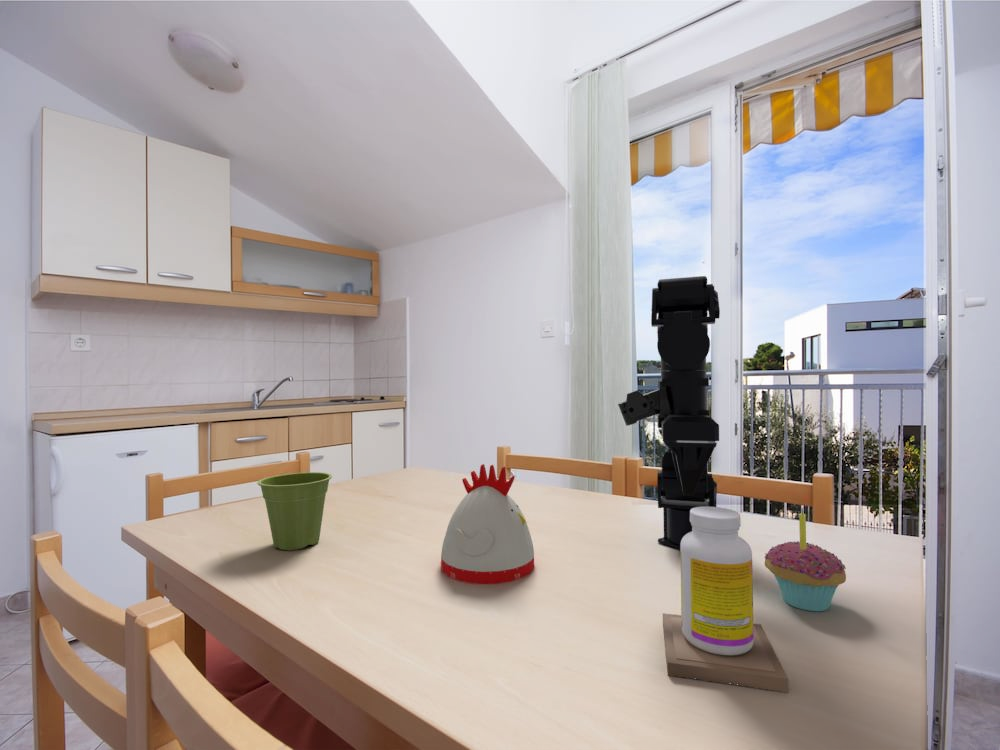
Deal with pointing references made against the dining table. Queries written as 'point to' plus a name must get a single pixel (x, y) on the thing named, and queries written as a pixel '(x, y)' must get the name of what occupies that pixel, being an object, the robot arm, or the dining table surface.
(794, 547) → the cupcake
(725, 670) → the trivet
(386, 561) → the dining table surface
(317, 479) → the plant pot
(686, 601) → the supplement bottle
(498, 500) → the kitchen timer
